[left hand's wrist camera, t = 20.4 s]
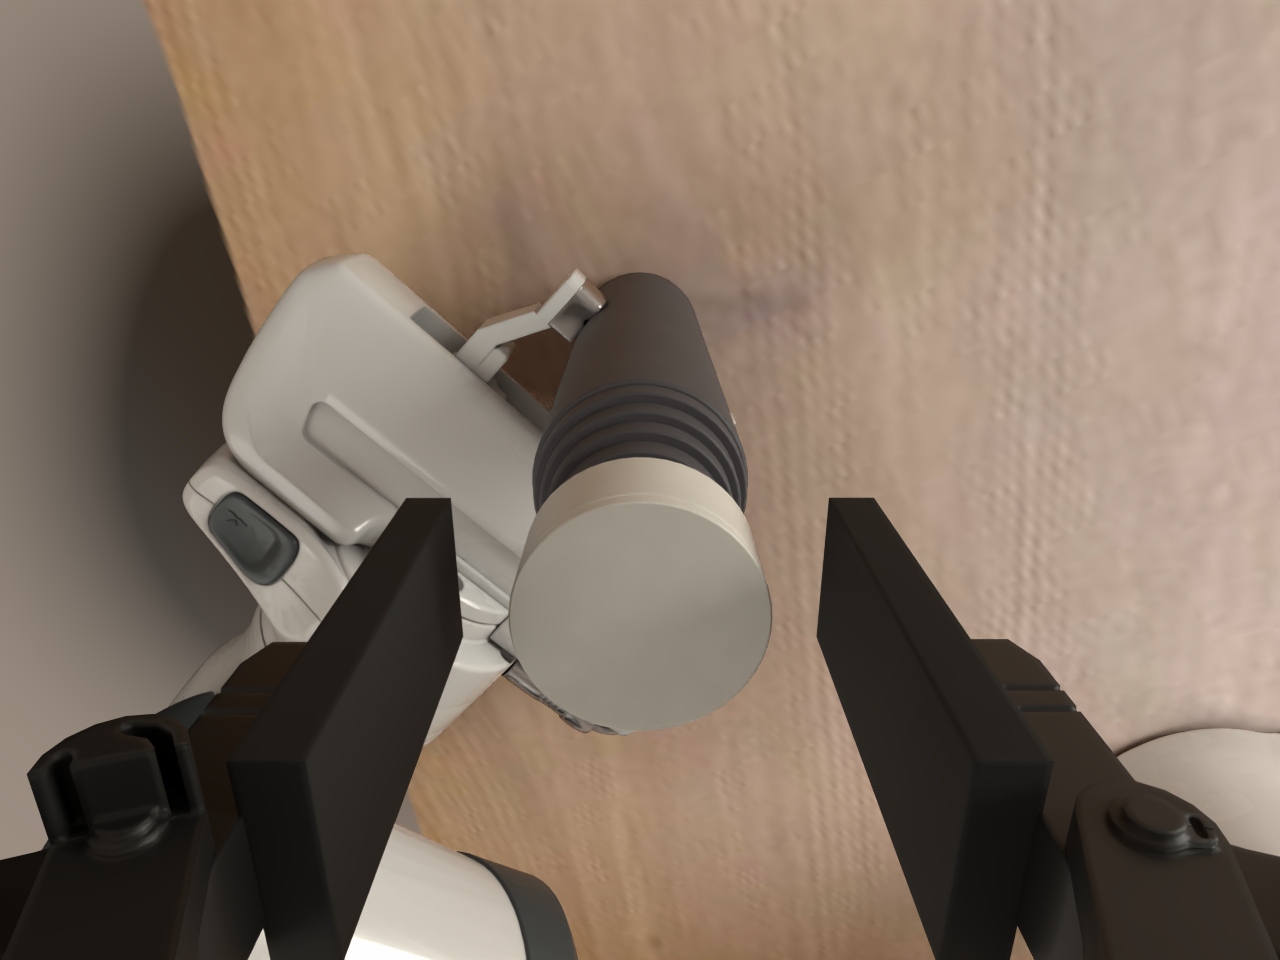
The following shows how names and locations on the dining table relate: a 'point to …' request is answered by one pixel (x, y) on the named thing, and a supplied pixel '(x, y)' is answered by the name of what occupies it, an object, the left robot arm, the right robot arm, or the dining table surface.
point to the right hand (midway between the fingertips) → (656, 345)
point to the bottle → (640, 393)
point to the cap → (640, 596)
